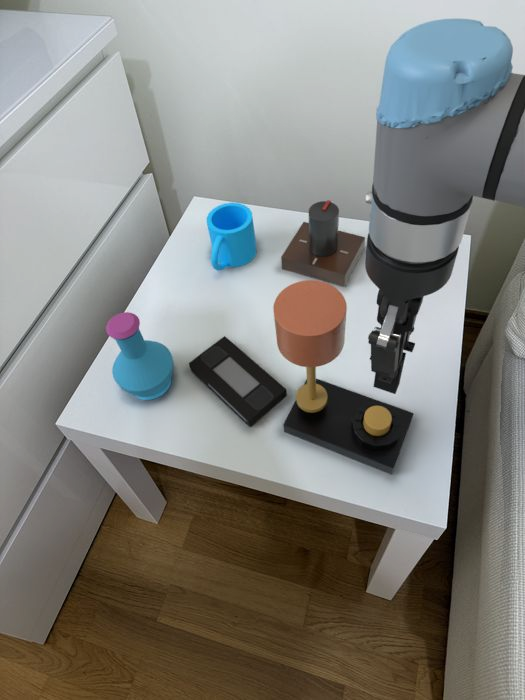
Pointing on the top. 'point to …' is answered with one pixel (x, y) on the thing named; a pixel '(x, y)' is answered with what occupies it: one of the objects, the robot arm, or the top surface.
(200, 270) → the top surface
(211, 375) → the vhs tape
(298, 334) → the lamp
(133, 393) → the perfume bottle
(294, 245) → the dimmer panel
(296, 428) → the lamp base
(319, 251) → the dimmer
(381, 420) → the switch
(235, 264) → the mug
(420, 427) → the top surface
